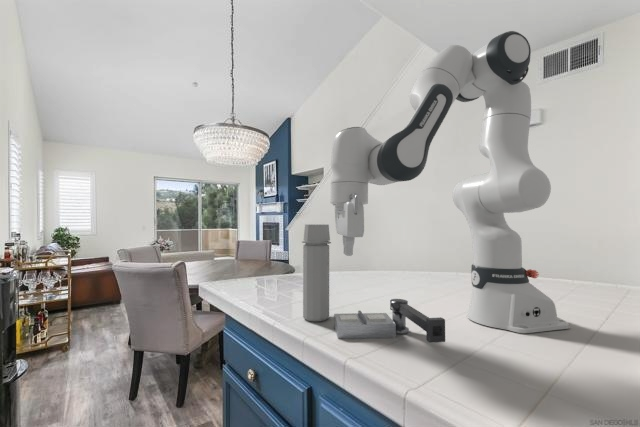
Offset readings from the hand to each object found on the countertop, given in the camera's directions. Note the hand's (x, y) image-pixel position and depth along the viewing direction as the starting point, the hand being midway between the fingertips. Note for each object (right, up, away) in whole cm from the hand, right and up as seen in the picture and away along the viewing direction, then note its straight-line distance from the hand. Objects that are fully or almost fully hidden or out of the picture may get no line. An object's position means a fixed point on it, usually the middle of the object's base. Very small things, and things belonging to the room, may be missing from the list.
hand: (348, 255), depth 71 cm
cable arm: (+13, -14, -7) cm, 20 cm away
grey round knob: (+12, -18, 0) cm, 22 cm away
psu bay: (+4, -18, 0) cm, 18 cm away
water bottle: (-7, -18, +10) cm, 22 cm away
